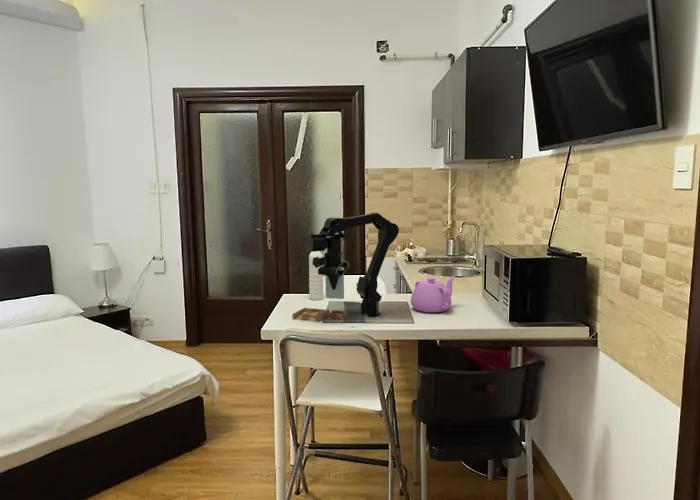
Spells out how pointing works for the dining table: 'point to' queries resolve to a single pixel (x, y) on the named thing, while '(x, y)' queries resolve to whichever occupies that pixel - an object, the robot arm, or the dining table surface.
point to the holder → (337, 315)
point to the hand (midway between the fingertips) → (334, 289)
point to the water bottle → (315, 278)
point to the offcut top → (310, 314)
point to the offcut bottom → (307, 318)
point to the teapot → (432, 295)
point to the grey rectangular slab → (339, 289)
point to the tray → (322, 312)
